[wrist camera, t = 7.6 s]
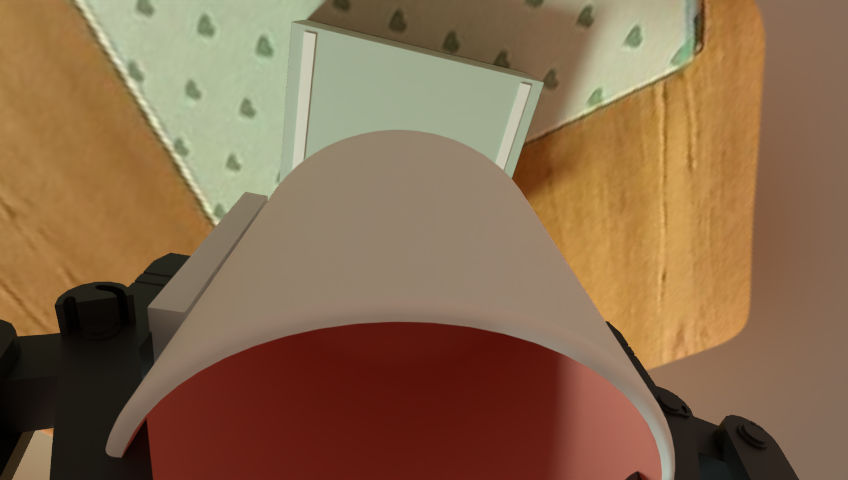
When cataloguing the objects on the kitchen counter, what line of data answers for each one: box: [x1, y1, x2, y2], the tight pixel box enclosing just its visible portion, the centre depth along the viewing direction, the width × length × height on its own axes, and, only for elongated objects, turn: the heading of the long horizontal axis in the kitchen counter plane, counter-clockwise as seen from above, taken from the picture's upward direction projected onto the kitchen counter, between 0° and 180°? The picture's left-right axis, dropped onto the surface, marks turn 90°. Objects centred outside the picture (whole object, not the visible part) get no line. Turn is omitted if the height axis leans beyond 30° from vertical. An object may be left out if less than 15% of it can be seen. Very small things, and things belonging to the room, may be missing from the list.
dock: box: [280, 20, 544, 183], centre depth 27 cm, size 12×14×6 cm
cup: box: [106, 130, 675, 480], centre depth 12 cm, size 10×10×10 cm
